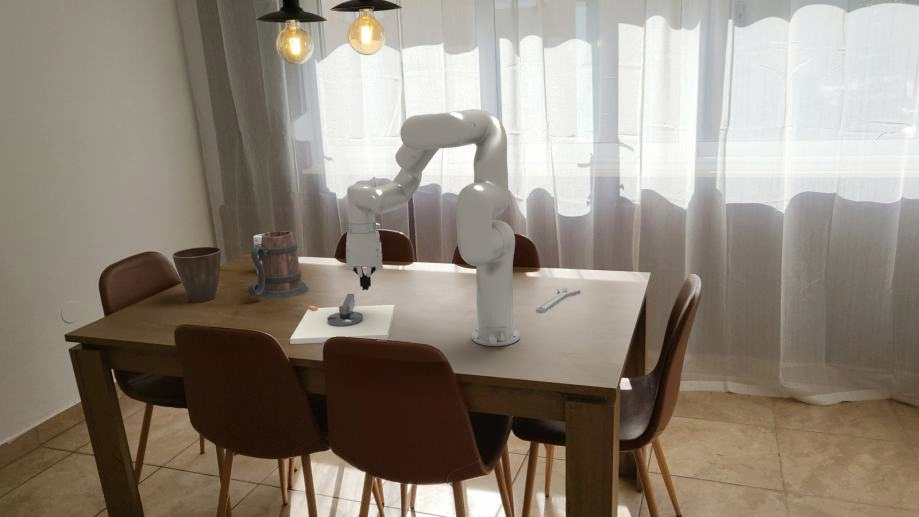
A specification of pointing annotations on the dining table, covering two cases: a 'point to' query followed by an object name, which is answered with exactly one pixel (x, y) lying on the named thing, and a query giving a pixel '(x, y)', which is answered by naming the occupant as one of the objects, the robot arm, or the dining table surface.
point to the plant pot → (199, 271)
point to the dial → (346, 313)
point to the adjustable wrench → (557, 298)
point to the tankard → (277, 267)
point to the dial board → (319, 330)
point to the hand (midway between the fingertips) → (365, 288)
